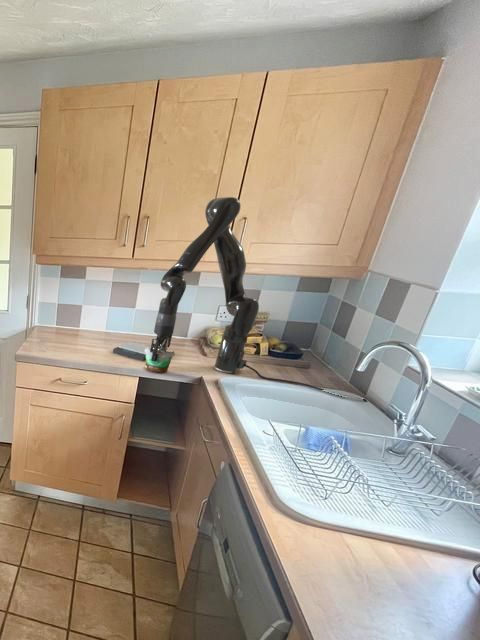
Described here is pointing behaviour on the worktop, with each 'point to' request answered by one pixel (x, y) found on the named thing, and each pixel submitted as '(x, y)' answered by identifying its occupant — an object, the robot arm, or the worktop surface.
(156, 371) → the food container
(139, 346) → the scale
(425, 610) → the worktop surface
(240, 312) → the robot arm
